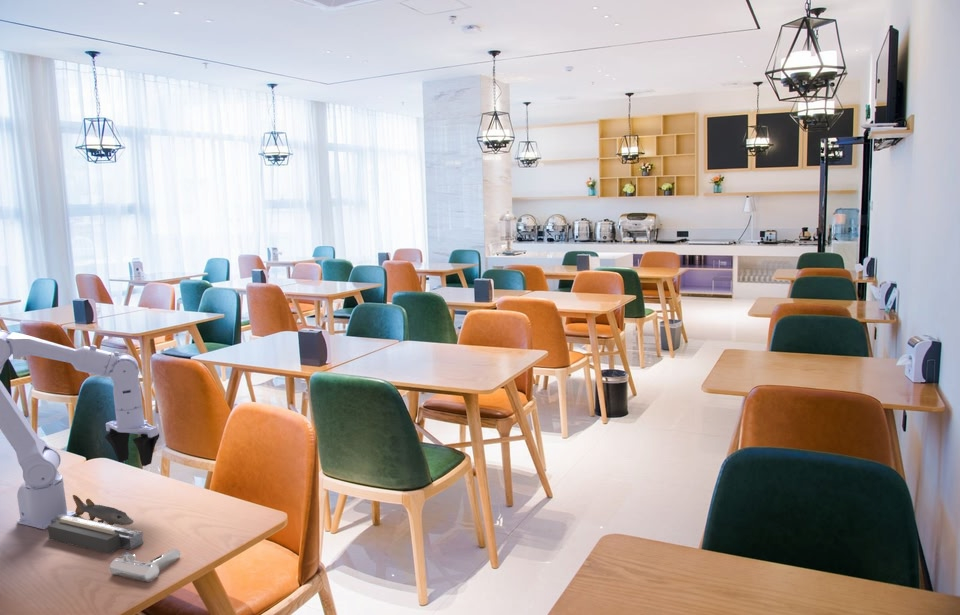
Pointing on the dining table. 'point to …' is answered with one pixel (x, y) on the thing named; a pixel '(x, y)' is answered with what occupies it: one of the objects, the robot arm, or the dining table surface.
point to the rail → (127, 536)
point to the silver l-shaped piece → (142, 565)
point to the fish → (102, 512)
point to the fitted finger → (84, 535)
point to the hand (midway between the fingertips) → (135, 462)
